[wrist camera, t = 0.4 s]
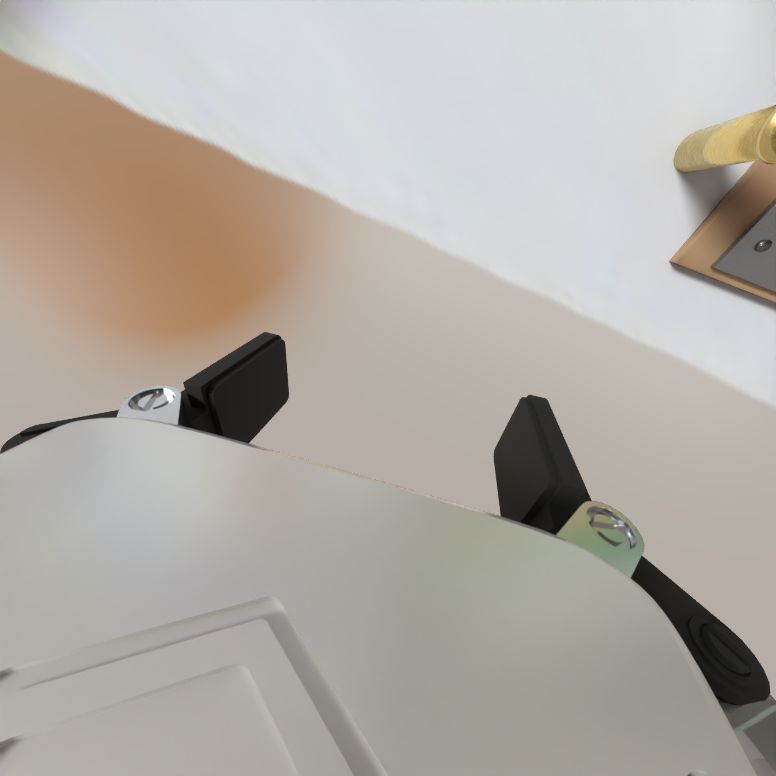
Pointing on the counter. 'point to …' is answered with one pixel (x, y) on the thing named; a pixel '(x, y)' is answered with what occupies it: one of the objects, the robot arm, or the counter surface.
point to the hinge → (753, 252)
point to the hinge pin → (730, 143)
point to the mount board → (731, 227)
